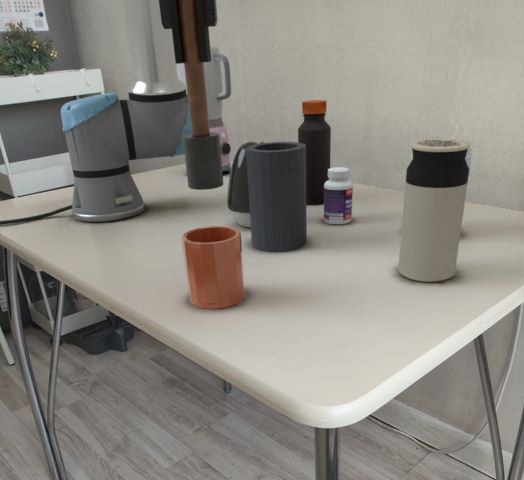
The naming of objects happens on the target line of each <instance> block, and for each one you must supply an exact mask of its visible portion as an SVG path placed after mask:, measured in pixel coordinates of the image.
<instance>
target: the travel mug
mask: <svg viewBox="0 0 524 480" xmlns="http://www.w3.org/2000/svg"><path fill="white" fill-rule="evenodd" d="M471 145H472V144H471V142H469V141H468V140H463V139H457V138H428V139H419V140H416V141H413V142H411V143H410V149H411V150H412V151H413V159H412V161H411V160H410V163H409V164H408V166H407V168H406V173H405V185H404V198H403V210H402V219H401V233H400V246H399V255H398V256H399V257H398V258H399V259H398V269H397V270H398V273H399V274H400V275H402V276H404V278H407V279H409V280H412V281H417V282H424V283H435V282H442V281H445V280H448V279H451V278H452V277H454V276H455V274H456V270H457V269H456V268H457V261H458V255H459V248H460V247H459V246H460V240H461V233H462V227H463V226H462V225H463V220H464V219H463V218H464V211H465V205H466V197H467V191H468V184H469V177H470V171H469V168H468V165H467V162H466V160H465V158H466V154H467V151H468V148H470V146H471ZM412 151H411V152H412ZM468 176H469V177H468ZM467 183H468V184H467ZM466 190H467V191H466Z"/></svg>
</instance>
